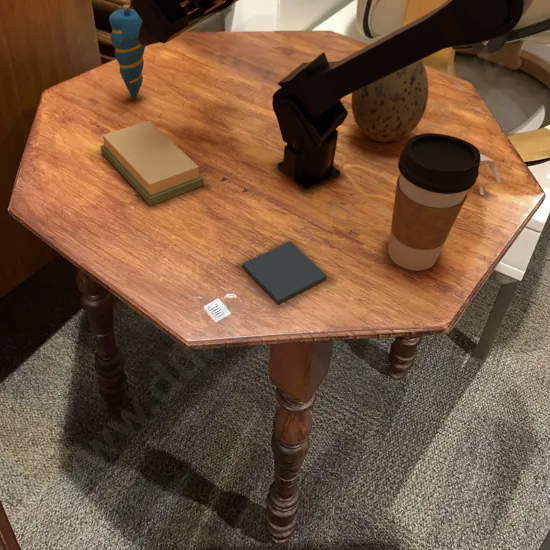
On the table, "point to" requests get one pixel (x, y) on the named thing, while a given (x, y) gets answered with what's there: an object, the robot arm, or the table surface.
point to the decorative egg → (392, 104)
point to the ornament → (128, 47)
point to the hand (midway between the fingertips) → (162, 30)
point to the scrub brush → (151, 162)
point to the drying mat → (284, 272)
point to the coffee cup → (429, 196)
